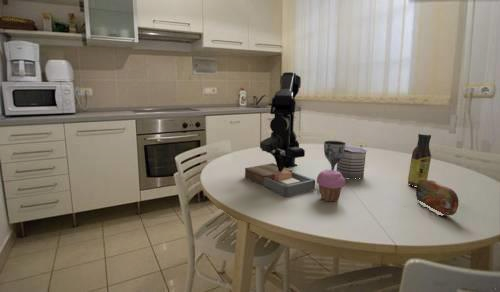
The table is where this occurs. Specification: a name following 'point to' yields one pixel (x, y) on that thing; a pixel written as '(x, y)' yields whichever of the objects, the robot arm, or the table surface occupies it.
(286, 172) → the tile back
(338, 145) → the wine glass
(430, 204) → the reddish-brown rounded block
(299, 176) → the tray
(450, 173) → the table surface
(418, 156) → the sauce bottle
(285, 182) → the tile front
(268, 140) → the robot arm
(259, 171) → the brown flat block
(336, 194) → the cupcake
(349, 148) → the can
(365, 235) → the table surface
